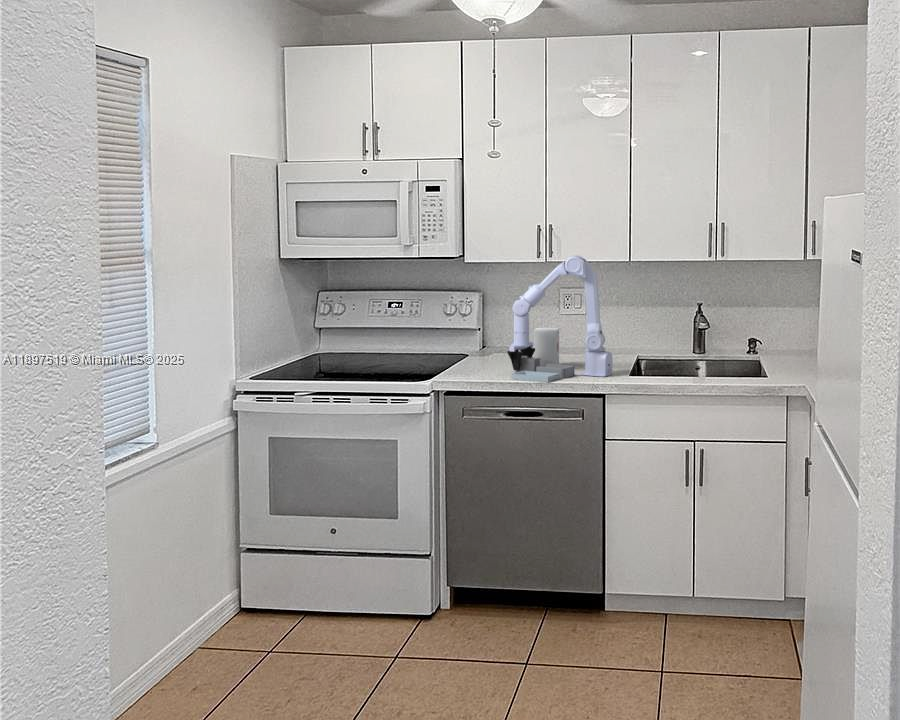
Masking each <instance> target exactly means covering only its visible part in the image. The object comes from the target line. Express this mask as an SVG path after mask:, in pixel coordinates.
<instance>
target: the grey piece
mask: <svg viewBox="0 0 900 720" xmlns="http://www.w3.org/2000/svg"><path fill="white" fill-rule="evenodd" d="M533 348H535V352H534V354H533V357H535V358H540V367H546V364H556V365H560V328H559V327H537V328H535V329H534V330H533Z"/></svg>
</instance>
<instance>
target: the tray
mask: <svg viewBox="0 0 900 720" xmlns="http://www.w3.org/2000/svg"><path fill="white" fill-rule="evenodd" d="M510 375H511V376H510V378H511V379H519V380H518V381H524V380H530V381H529V382H537V381H538V382H537V383H539V382H540V383H552V382H554V381H553V380H555V381H557V380H556V379H558V380H560V379H561V378H560V373H547V372H534V371H521V372H517V373H515V372H514V373H511V374H510Z"/></svg>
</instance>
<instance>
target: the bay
mask: <svg viewBox="0 0 900 720" xmlns="http://www.w3.org/2000/svg"><path fill="white" fill-rule="evenodd" d="M536 372H547V373H560V379H563V378H564V379H567V378H570V376H571V377H573V375H574V376H575V365H569V364H568V365H566V364H559V365H556V364H546V367H539V366H537V367H536ZM566 377H567V378H566Z"/></svg>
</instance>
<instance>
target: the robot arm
mask: <svg viewBox="0 0 900 720" xmlns="http://www.w3.org/2000/svg"><path fill="white" fill-rule="evenodd" d="M569 274H571V275H573V276H577V277H578V278H579V279H581V280H582V281H583V282H584V294H585V295H584V297H585V312H586V322H587V323H586V324H587V326H586V327H587V329H586V330H587V331H586V338H585V340H584V341H585V342H584V344H585V346H586V348H585V349H584V356H585V357H584V359H585V360H584V372H583V373H582V372H581V373H580V376H591V377H601V378H605V377H608V376H611V375H614V373H613V354H612V352H611V351H607V350H606V348H605V347H604V345H605V342H606V337H605V335H604V332H603V330H602V329H603V328H602V324H601V312H600V299H599V298H600V297H599V282H598V274H597V272H596V271H595V269H594V268H593V267H592V266H591V264H590V263H589V262H588V260H587V259H586V258H585V257H583V256H582V255H580V254H579V255H578V254H577V255H571V256H569V257H568V258H567V259H566V260H563V261H562V262H561V263H560V264H558V265H557V266H556V267H555V268H554V269H553V270H552V271H551V272H550V273H549V274H548V275H547V276H545V278H544V279H543V280H542V281H541V282H540V283H538V284H533V285H529V286H528V290H527V291H526V292H524V293H523V294H521V295H519V299H517V300H515V301H514V303H513V305H512V308H511V309H512V313H513V342H512V343H511V344H510V346H508V348H509V350H507V355H508V357H509V359H510V362H511V365H512V369H513V371H515V370H519V369H520V361H521V357H522V356H527V357H534V352H535V348H534V341H530V314H529V313H530V311H531V308H533V307H534V306H536V305H537V304H538V303H539V302H540V301H541V300H543V298H544V297H545V296H546V290H548V289H549V288H550V287H551V286H552V285H554V283H555V282H557V280H558V279H560V278H561V277H562V276H567V275H569Z"/></svg>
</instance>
